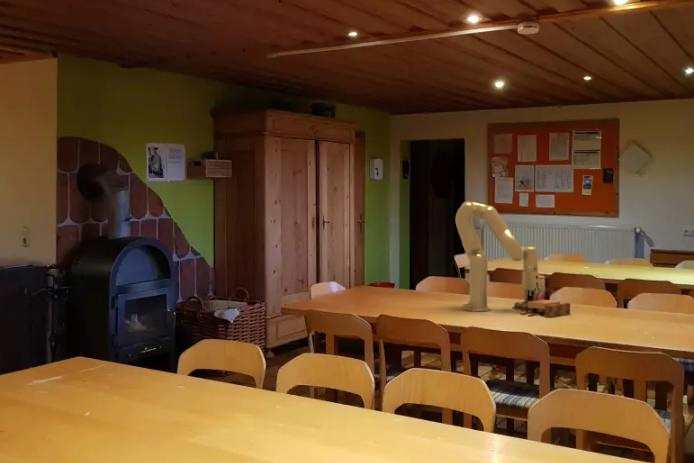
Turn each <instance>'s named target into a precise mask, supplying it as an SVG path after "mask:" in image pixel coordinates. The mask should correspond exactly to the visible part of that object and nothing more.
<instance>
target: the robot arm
mask: <svg viewBox="0 0 694 463" xmlns="http://www.w3.org/2000/svg"><path fill="white" fill-rule="evenodd" d="M472 218H473V219H478V220H483V221H484V223H485V224H486V226H487V227H488V228H489V230H490V231H491V233H492V234H493V236H494V237H495V239H496V240H498V242H499V243H500V244H501V246H502V247H503V248H504V250H505V252H506V253H507V254H508V256H509V257H510V258H511V260H513V261H515V262H519V261H522V260H523V267H522V268H523V270H522V274H521V275H522V276H521V288H522V291H523V292H524V291H525V292H526V295H527V302H528V301H533V296H534V294H535V293H538V290H540V277H539V276H540V273H539V267H538V262H539V257H538V255H539V249H538V247H536V246H530V245H529V246H521V245H520V244H519V243H518V241H517V239H516V238H515V236H514V235H513V233H512V231H511V230H510V228H509V227H508V225H507V224H506V222H505V221H504V220H503V218H502V216H501V214H499V213H498V211H497V208H495V207H494V206H493V205H489V204H488V205H487V204H482V203H478V202H475V201H470V200H469V201H468V200H467V201H463V203H461V206H460V207H459V208H458V209H457V212H456V214H455V219H454V220H455V224H456V225H455V226H456V229H457V232H458V235H459V238H460V240H461V243H462V247H463V248H464V252H465V253H466V257H467V259H468V261H469V262H468V263H469V301H468V302H467V303H463V304H462V307H463V308H466V309H467V310H468V311H471V312H488V311H490V310H491V307H490V306H488V258H487V255H486V254H485V250H484V249H483V246H482V243H481V240H480V238H479V236H478V235H477V233H476V230H475V229H474V225H473V223H472Z"/></svg>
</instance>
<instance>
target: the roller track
mask: <svg viewBox="0 0 694 463" xmlns="http://www.w3.org/2000/svg"><path fill="white" fill-rule="evenodd" d="M513 305H514V306H512V307H511V308H512V309H513V310H517V311H522V312H525V313H526V312H529V313H530V314H534V312H535V314H538V313H537V308H530V307H528V304H527V302H526V301H524V300H523V301H518V302H515V303H514V304H513ZM543 315H544V316H545V309H543Z"/></svg>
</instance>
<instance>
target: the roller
mask: <svg viewBox="0 0 694 463" xmlns="http://www.w3.org/2000/svg"><path fill="white" fill-rule="evenodd" d="M536 314H538V315H541V314H543V309H538V308H537V313H536ZM543 315H544V314H543Z"/></svg>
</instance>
